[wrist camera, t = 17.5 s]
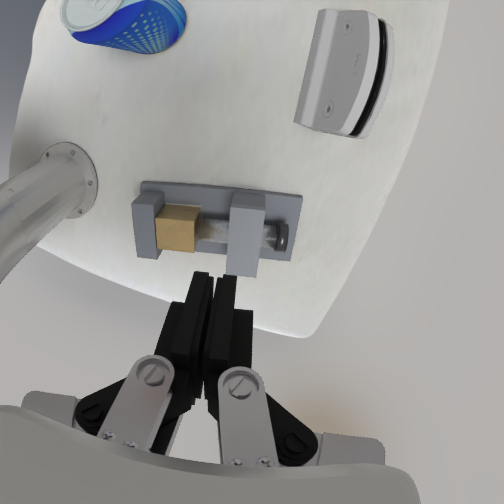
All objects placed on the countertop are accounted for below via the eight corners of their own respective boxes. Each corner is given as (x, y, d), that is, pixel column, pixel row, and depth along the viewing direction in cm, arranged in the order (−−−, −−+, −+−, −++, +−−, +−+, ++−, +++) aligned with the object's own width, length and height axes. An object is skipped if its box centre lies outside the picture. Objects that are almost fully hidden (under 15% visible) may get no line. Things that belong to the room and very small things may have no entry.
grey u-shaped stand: (147, 242, 42) (133, 264, 36) (143, 181, 36) (125, 197, 31) (289, 257, 42) (293, 282, 37) (301, 195, 37) (308, 214, 32)
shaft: (202, 234, 39) (196, 248, 36) (202, 210, 37) (197, 222, 34) (282, 243, 39) (284, 258, 36) (287, 219, 37) (289, 232, 34)
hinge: (319, 8, 23) (371, -4, 15) (349, 21, 25) (404, 17, 17) (292, 124, 32) (338, 144, 24) (324, 131, 33) (373, 153, 26)
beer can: (132, 63, 27) (55, 58, 14) (124, 13, 23) (51, -12, 9) (194, 44, 26) (144, 13, 13) (183, -8, 22) (135, -59, 8)
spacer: (166, 232, 39) (157, 248, 35) (165, 203, 37) (155, 218, 33) (200, 235, 39) (194, 252, 36) (201, 206, 37) (194, 221, 33)
